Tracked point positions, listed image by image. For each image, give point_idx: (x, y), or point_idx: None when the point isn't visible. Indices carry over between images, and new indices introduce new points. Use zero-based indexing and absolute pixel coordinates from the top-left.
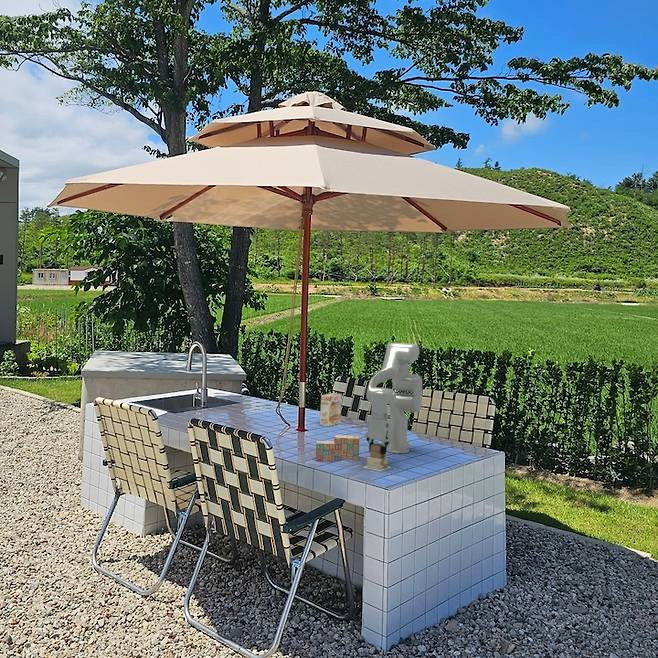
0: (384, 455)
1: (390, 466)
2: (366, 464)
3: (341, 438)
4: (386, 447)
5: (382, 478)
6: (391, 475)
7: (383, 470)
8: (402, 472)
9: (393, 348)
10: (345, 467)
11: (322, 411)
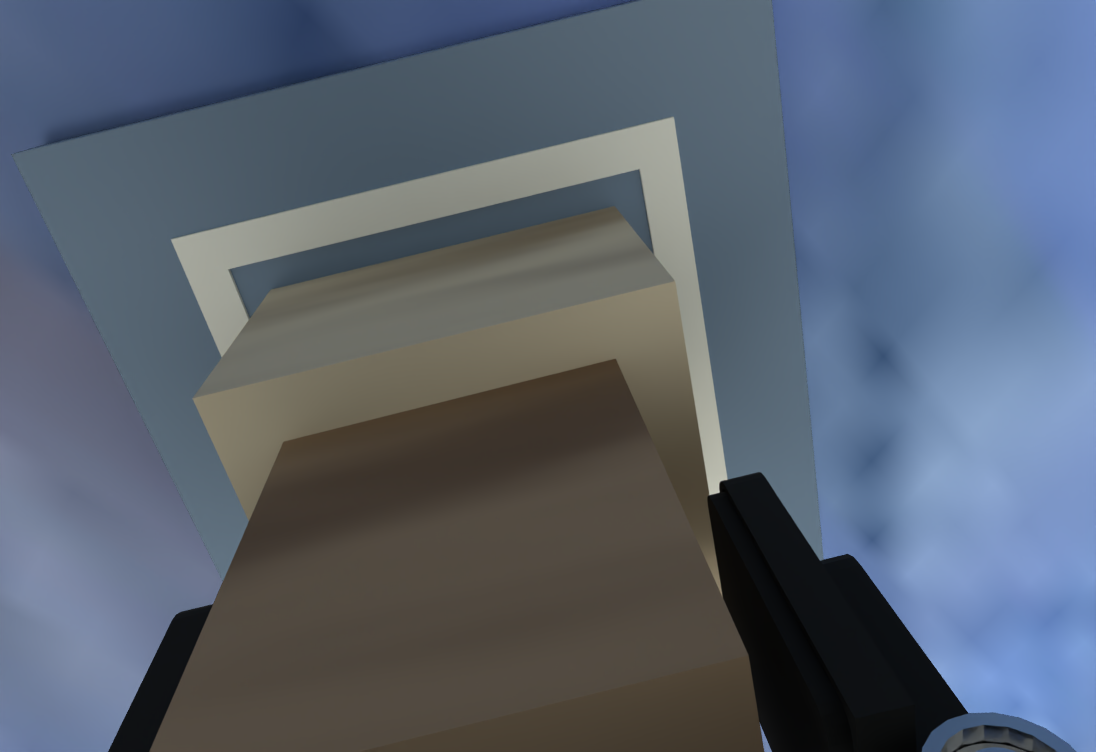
0: (627, 390)
1: (610, 66)
2: (166, 438)
3: None
4: (951, 700)
5: (925, 636)
6: (932, 410)
7: (745, 451)
8: (974, 45)
9: None
10: (58, 732)
11: None
